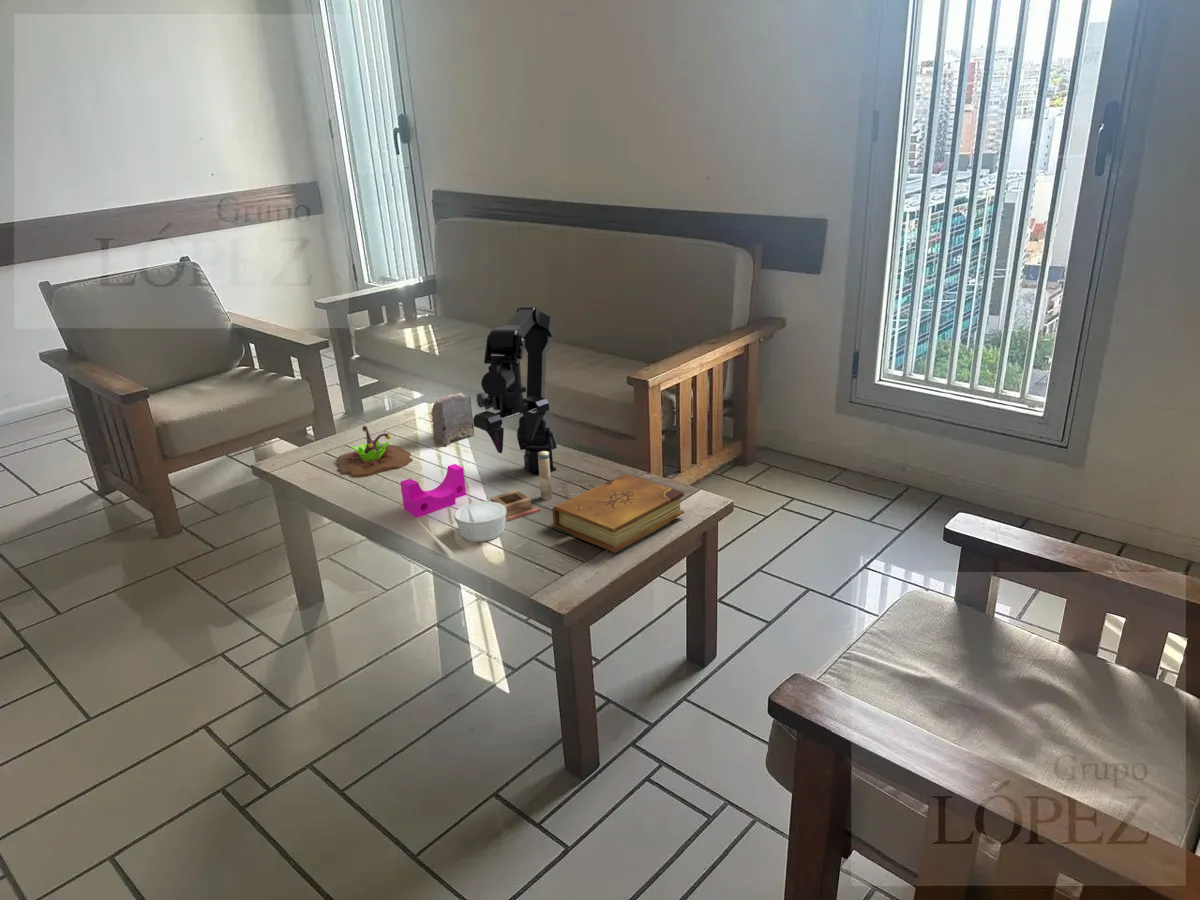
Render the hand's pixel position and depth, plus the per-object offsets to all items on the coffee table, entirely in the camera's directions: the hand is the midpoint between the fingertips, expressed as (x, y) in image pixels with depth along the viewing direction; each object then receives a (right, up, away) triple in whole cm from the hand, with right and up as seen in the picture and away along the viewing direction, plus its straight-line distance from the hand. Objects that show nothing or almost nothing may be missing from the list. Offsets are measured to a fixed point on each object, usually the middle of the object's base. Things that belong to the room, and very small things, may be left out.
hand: (515, 447), depth 199 cm
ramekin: (-6, -19, -12) cm, 23 cm away
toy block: (-19, -14, +4) cm, 24 cm away
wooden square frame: (0, -15, -1) cm, 15 cm away
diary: (+24, -17, -9) cm, 31 cm away
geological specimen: (-21, +1, +42) cm, 47 cm away
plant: (-41, -5, +30) cm, 52 cm away
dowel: (+7, -12, +4) cm, 15 cm away
